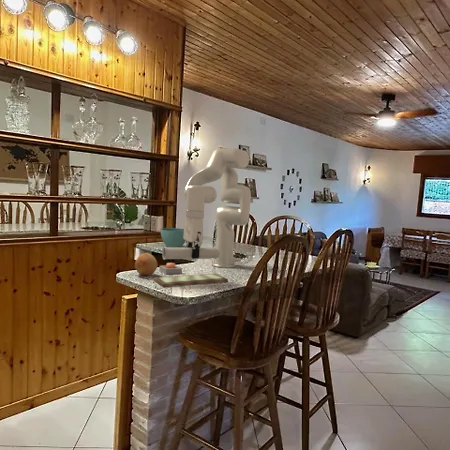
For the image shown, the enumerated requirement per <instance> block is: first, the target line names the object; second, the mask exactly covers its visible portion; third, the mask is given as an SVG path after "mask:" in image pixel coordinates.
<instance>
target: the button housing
mask: <svg viewBox="0 0 450 450" xmlns="http://www.w3.org/2000/svg"><path fill="white" fill-rule="evenodd" d="M166 265H167V264H166ZM166 265H159V272H161V273H162V274H164V275H178V274H182V273H183V268H182V267H180V266H179V265H177V264H175V268H166Z"/></svg>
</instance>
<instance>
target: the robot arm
mask: <svg viewBox="0 0 450 450" xmlns="http://www.w3.org/2000/svg"><path fill="white" fill-rule="evenodd" d="M249 163H250V155H249V153H248V151H246V150H242V149H239V148H234V147H233V148H228V147H226V148H225V147H224V148H223V147H219V148H216V149H214V151H212V154H211V155H210V158H209V159H208V162H207V163H206V166H205V167H204V168H202V169H201V170H199V171H198V172H196V173H194V174H193V175H192V176H191V177H190V179H189V180H188V181H187V184H186V186H185V188H184V191H183V194H184V195H183V197H184V199H185V201H186V207H185V221H184V226H183V227H184V228H183V229H184V235H183V238H184V240H186V241H185V244H186V245H185V248H193V249H192V259H191V260H198V258H199V251H200V248H201V246H202V244H203V239H204V217H205V216H204V215H205V214H204V213H205V204H211V203H213V202H215V201H216V200H217V196H218V194H217V190H216V189H215V188H214V187H213V186H211V185H207V186H206V184H210V183H213V182H216V181H218V180H220V179H221V185H220V201H221V202H222V203H224V204H231V205H232V206H231V205H221V206H219V207H217V209H216V210H215V222H216V232H215V233H216V236H215V248H217V249H218V250H219V252H220V254H219V257H218V258H216V259H214V261H212V262H211V265H212V266H213V267H215V268H222V269H225V268H226V269H228V268H230V269H231V268H235V267H236V262H237V263H239V262H240V263H241V258H240V257H234V248H235V247H234V246H235V230H234V228H233V227H232V226H246V225H247V224H248V223H249V220H250V210H251V201H252V200H251V199H252V198H251V197H252V193H251V189H250V188H249V187H248V186H246V185H238V184H239V183H238V182H239V174H238V172H237V171H236V170H235V168H236V169H237V168H238V169H245V168H246V167H248V165H249ZM233 205H239V206H233Z"/></svg>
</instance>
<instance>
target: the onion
mask: <svg viewBox="0 0 450 450" xmlns="http://www.w3.org/2000/svg"><path fill="white" fill-rule="evenodd" d="M134 262H135V263H134V269H135V270H136V272H137V273H138V274H139V275H142V276H150V275H151V276H152V275H153V274H154V273H155V272H156V270H157V268H158V261H157V259H156V257H155V256H154V255H152V254H151V253H148V252H144V253H142V254H140V255H139V256H138V257H137V258H136V259H135V261H134Z"/></svg>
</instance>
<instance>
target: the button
mask: <svg viewBox="0 0 450 450" xmlns="http://www.w3.org/2000/svg"><path fill="white" fill-rule="evenodd" d="M175 265H176V263H175V262H167V263H166V268H175Z"/></svg>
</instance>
